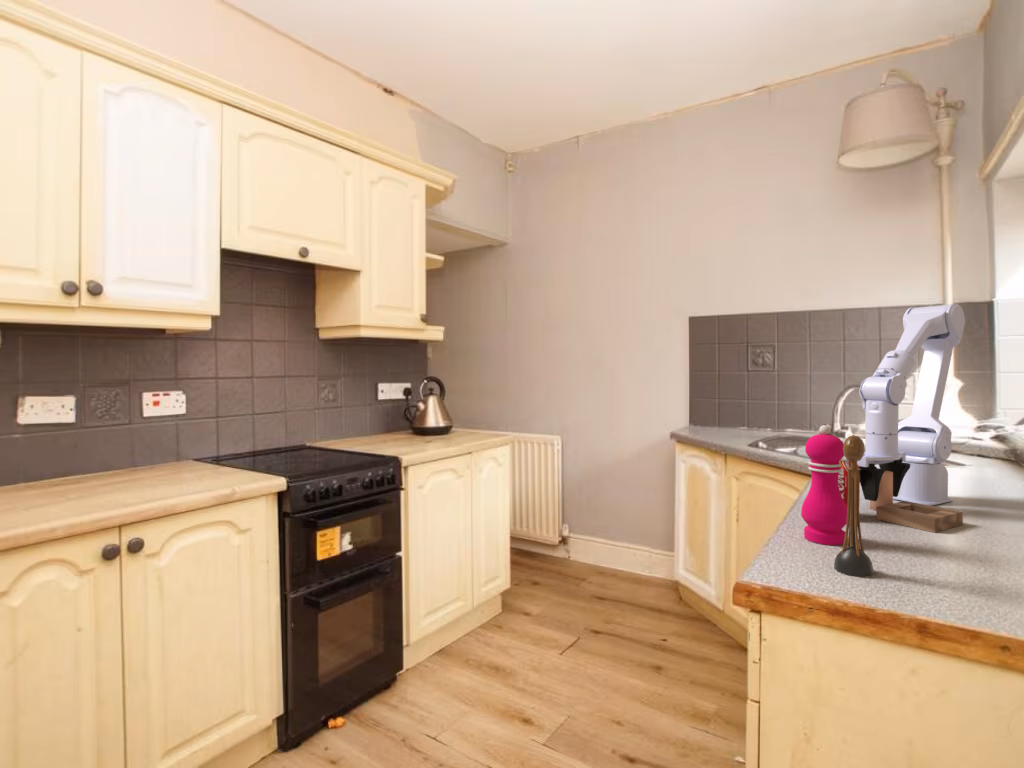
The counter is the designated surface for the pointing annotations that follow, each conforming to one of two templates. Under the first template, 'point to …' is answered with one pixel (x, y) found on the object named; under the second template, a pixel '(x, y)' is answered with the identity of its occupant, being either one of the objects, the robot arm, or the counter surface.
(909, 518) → the socket block
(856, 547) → the wooden tabletop sculpture
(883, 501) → the peg
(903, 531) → the counter surface
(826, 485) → the pepper mill
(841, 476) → the soda can
